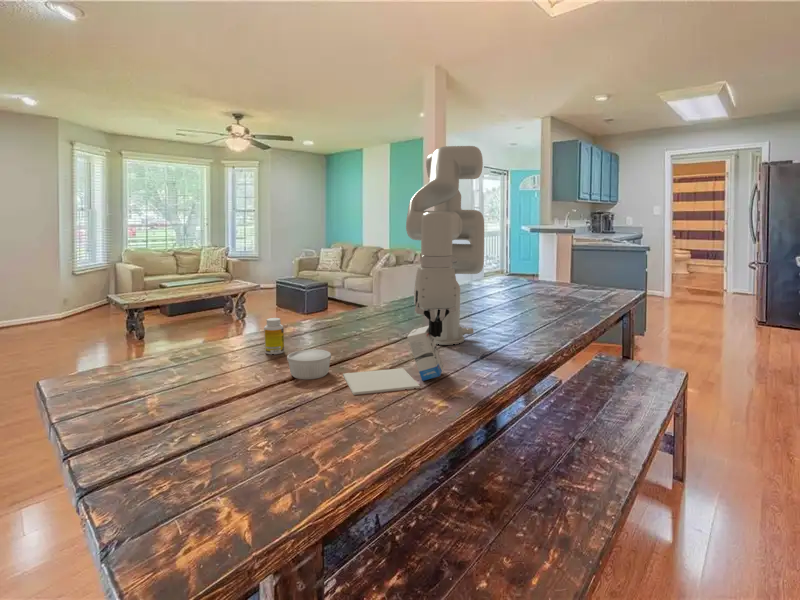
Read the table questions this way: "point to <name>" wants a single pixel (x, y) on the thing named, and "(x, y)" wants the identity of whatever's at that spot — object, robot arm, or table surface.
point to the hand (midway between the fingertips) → (435, 335)
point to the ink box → (425, 353)
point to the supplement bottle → (274, 336)
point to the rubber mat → (379, 381)
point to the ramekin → (309, 363)
